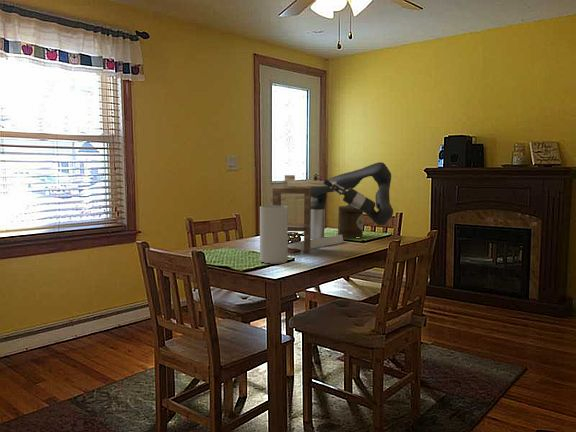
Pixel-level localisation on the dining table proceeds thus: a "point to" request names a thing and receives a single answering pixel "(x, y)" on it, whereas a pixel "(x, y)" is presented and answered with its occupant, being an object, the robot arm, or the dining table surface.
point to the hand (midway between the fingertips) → (324, 181)
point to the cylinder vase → (274, 234)
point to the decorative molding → (318, 242)
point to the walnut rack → (307, 211)
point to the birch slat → (307, 183)
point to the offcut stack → (288, 180)
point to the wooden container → (350, 222)
